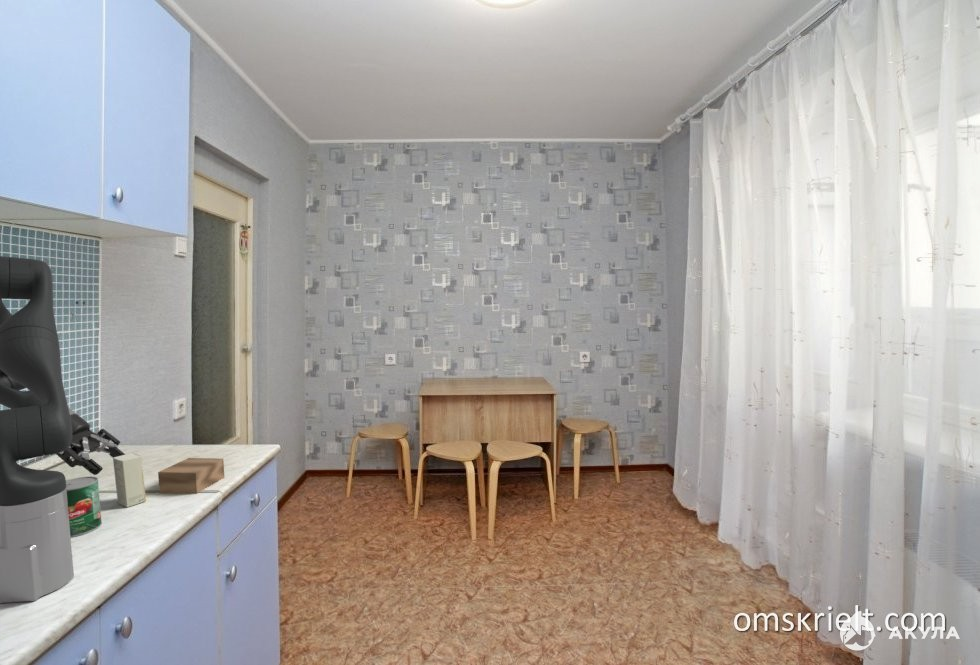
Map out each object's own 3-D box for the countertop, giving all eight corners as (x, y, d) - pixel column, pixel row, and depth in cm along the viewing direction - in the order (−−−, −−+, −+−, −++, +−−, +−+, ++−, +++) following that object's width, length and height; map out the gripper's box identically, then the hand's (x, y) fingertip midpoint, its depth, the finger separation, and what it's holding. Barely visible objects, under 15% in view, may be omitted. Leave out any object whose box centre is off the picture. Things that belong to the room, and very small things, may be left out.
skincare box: (146, 501, 119) (143, 456, 118) (126, 508, 115) (122, 461, 114) (136, 496, 122) (132, 452, 121) (115, 502, 118) (112, 457, 118)
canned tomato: (97, 517, 110) (94, 473, 109) (105, 527, 105) (101, 481, 104) (52, 531, 104) (48, 484, 103) (58, 542, 99) (54, 493, 98)
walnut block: (197, 494, 123) (195, 472, 123) (159, 493, 124) (158, 472, 124) (224, 478, 134) (223, 458, 134) (189, 477, 135) (188, 458, 135)
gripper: (46, 420, 109) (101, 465, 110) (92, 406, 123) (141, 446, 125) (24, 443, 109) (79, 487, 110) (73, 426, 123) (121, 466, 125)
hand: (112, 465), depth 118 cm, fingers open, 8 cm apart
